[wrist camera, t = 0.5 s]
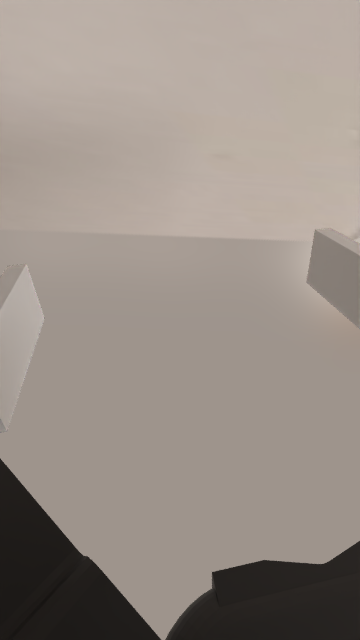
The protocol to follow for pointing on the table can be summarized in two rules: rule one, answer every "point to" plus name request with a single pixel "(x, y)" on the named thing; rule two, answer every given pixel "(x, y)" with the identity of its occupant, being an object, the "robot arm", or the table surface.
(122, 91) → the table surface
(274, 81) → the table surface
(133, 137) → the table surface
